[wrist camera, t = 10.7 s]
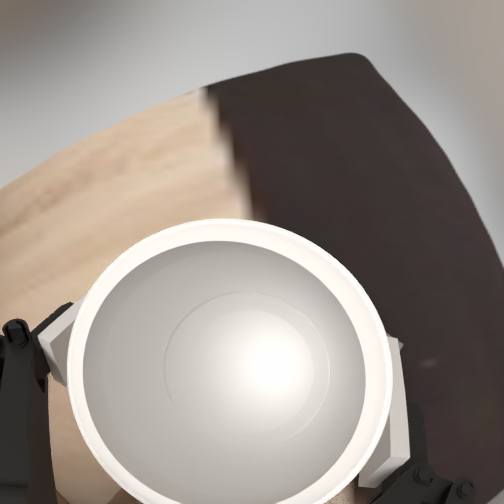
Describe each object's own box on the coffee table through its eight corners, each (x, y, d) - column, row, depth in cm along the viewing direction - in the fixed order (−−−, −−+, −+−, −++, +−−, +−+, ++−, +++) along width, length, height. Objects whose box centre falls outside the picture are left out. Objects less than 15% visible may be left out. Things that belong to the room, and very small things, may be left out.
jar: (334, 314, 23) (410, 243, 9) (308, 445, 20) (348, 549, 6) (199, 290, 25) (108, 198, 11) (171, 416, 22) (47, 463, 8)
